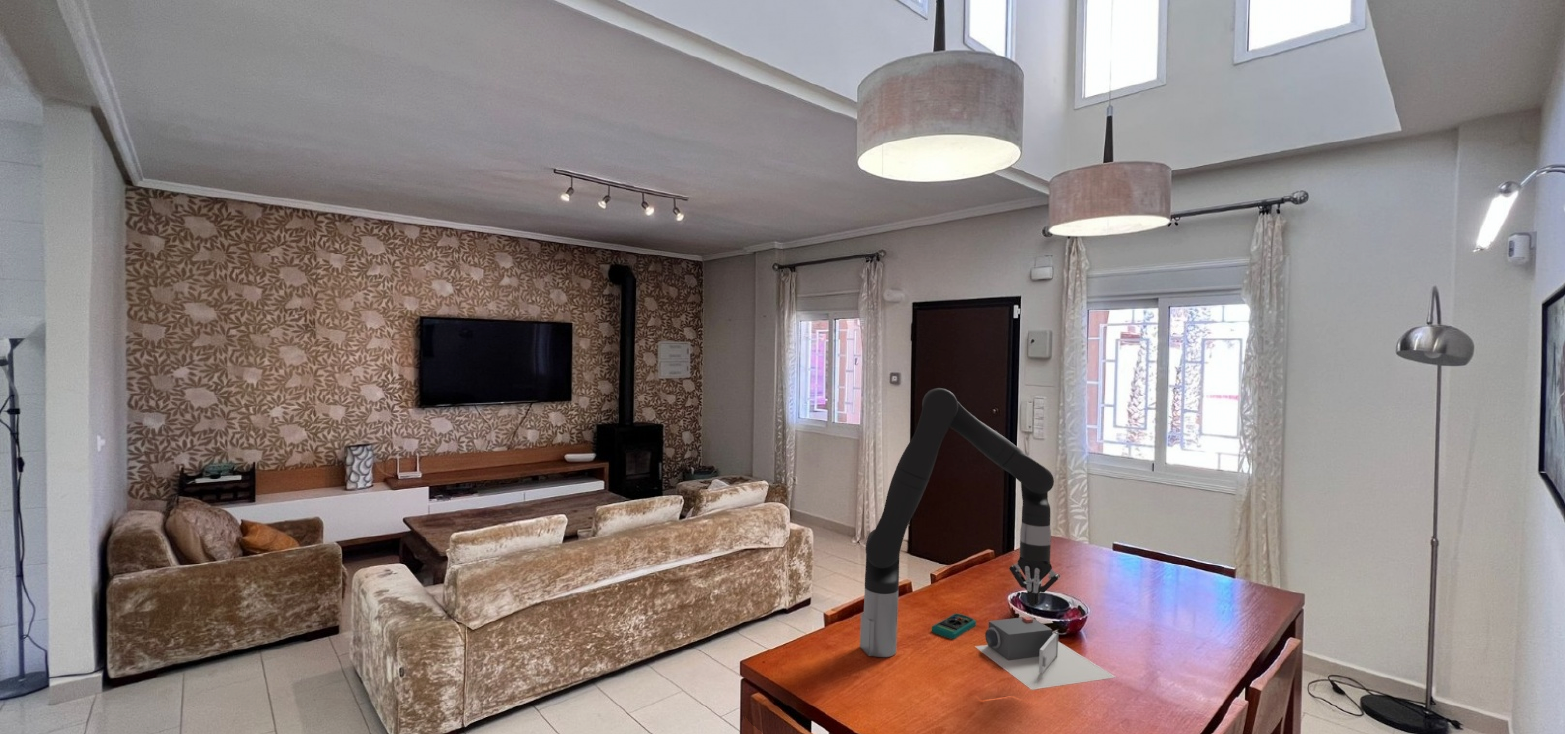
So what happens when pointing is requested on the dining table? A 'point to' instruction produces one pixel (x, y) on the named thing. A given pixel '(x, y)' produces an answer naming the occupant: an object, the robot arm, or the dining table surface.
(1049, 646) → the side door
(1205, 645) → the dining table surface
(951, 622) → the digital multimeter
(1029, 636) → the camera body
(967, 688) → the dining table surface
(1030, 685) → the mat
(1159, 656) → the dining table surface
